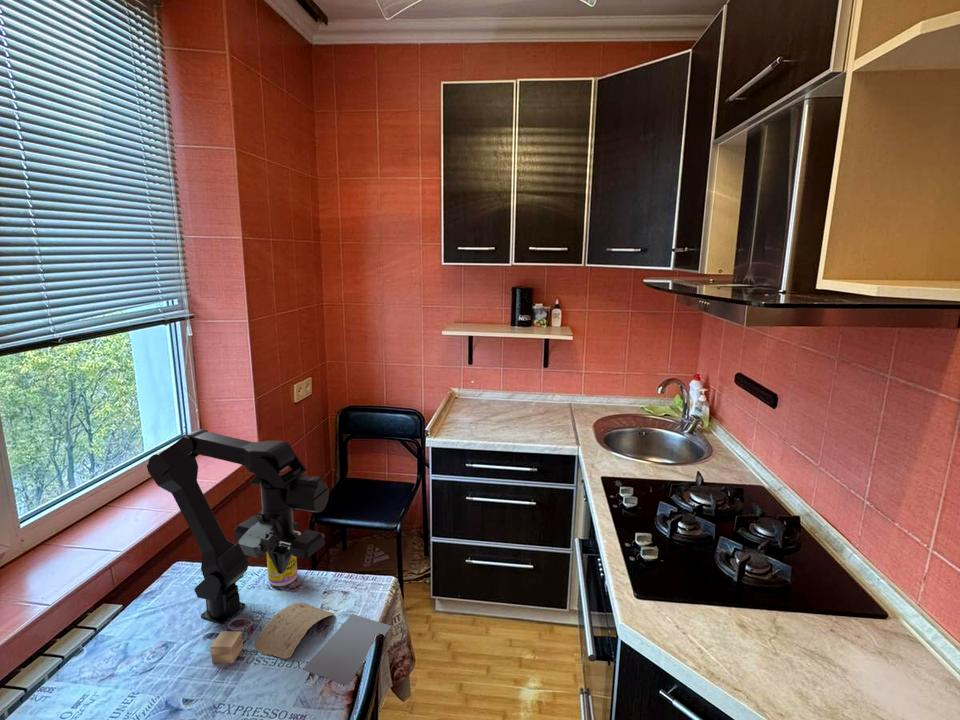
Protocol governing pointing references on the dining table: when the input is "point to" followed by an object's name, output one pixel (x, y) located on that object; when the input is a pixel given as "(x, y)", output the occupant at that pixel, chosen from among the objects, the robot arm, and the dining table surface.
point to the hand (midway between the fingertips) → (281, 572)
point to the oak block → (226, 647)
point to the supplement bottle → (285, 577)
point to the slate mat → (346, 649)
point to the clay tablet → (288, 629)
